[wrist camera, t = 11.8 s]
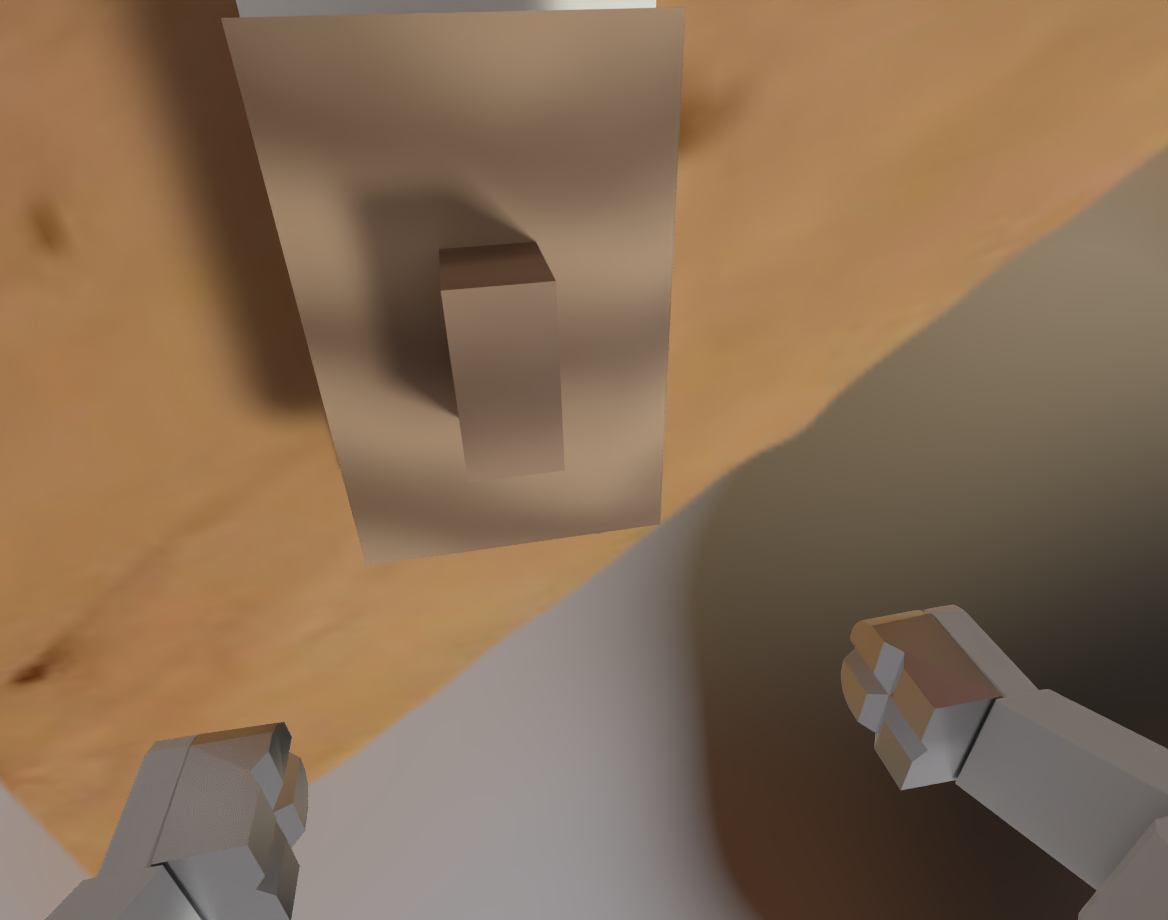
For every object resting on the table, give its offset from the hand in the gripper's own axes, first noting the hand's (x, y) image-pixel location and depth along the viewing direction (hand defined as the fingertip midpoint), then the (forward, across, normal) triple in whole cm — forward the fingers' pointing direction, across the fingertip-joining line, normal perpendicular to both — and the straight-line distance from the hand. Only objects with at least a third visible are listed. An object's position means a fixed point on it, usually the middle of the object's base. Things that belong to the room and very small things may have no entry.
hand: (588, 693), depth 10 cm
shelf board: (+17, 0, +1) cm, 17 cm away
